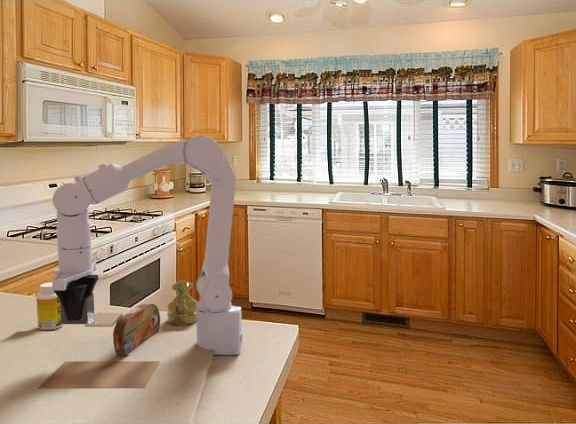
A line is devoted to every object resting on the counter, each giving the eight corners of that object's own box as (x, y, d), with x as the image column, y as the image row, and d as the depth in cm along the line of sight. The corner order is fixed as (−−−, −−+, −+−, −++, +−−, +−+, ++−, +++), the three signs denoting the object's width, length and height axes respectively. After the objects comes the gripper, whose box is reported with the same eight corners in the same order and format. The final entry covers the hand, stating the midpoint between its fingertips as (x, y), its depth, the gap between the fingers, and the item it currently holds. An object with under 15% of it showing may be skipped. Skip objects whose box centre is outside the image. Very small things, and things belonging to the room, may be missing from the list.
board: (160, 367, 87) (160, 361, 87) (145, 394, 77) (144, 387, 77) (65, 367, 87) (65, 361, 86) (37, 394, 77) (37, 388, 77)
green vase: (200, 324, 110) (200, 283, 108) (168, 327, 107) (167, 286, 106) (195, 314, 116) (195, 276, 115) (165, 317, 114) (164, 278, 113)
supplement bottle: (61, 330, 105) (58, 287, 104) (34, 331, 104) (32, 288, 103) (67, 321, 111) (65, 280, 109) (42, 323, 109) (39, 281, 108)
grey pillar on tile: (122, 315, 91) (121, 291, 90) (111, 327, 85) (111, 300, 84) (71, 315, 90) (70, 291, 90) (57, 326, 84) (56, 300, 84)
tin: (125, 364, 88) (123, 322, 87) (110, 363, 89) (109, 321, 88) (162, 335, 103) (160, 299, 102) (149, 334, 103) (148, 298, 102)
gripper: (70, 239, 93) (73, 304, 94) (32, 254, 78) (37, 330, 80) (105, 239, 93) (108, 304, 95) (74, 255, 79) (78, 330, 80)
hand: (78, 316), depth 87 cm, fingers closed on grey pillar on tile, 3 cm apart
